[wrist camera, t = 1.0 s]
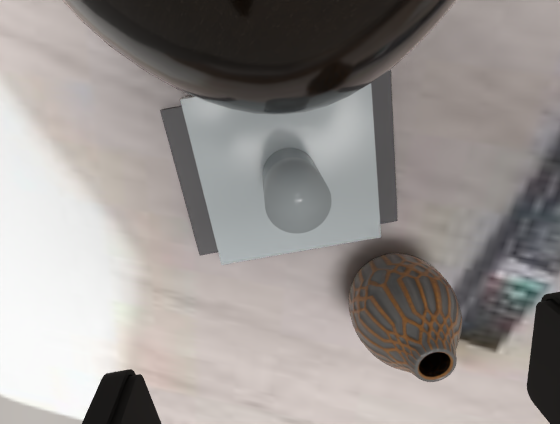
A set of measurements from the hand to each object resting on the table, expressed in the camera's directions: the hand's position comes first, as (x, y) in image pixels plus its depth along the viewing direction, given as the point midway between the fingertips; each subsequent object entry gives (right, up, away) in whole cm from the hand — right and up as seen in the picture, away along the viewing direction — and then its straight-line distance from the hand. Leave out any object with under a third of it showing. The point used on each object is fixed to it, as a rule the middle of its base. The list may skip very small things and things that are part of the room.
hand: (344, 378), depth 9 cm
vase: (+6, -1, +21) cm, 22 cm away
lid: (-1, +7, +16) cm, 18 cm away
